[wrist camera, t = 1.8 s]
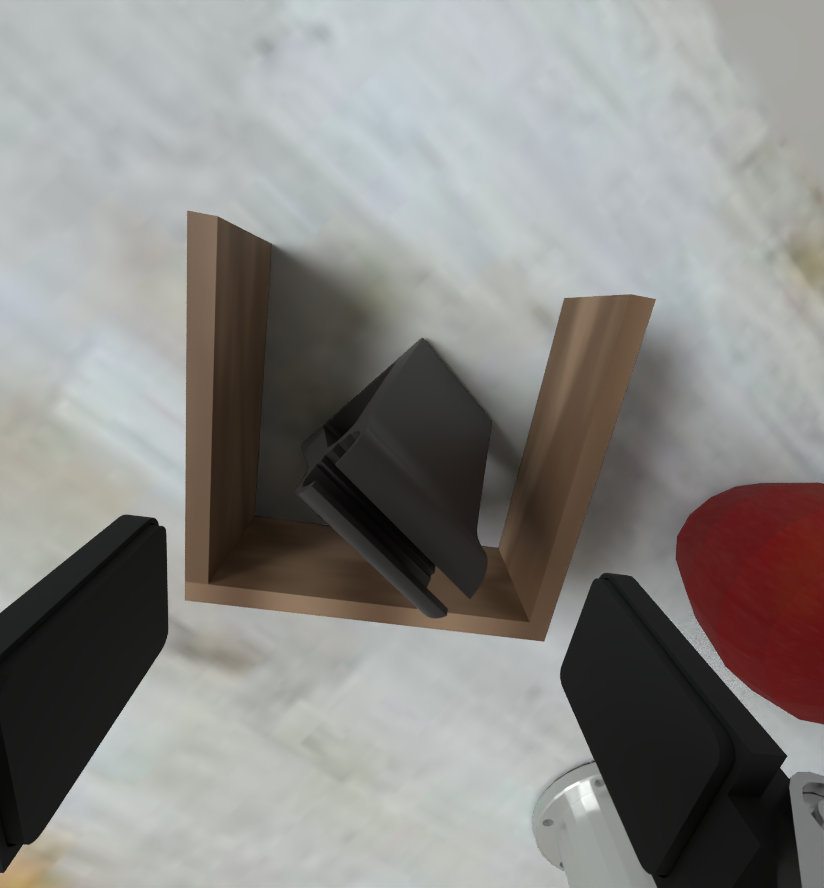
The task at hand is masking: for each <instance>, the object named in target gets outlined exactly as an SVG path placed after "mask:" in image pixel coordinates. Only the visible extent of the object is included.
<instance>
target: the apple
mask: <svg viewBox="0 0 824 888" xmlns="http://www.w3.org/2000/svg"><path fill="white" fill-rule="evenodd" d="M676 561H677V564H678V567H679V570H680V573H681V577H682V580H683V583H684V586H685V589H686V592H687V595H688V598H689V600H690V603H691V606H692V609H693V611H694V614H695V617H696V619H697V621H698V622H699V624H700V626H701V627H702V629H703V630H704V632H705V634H706V635H707V637H708V639H709V640H710V642H711V643H712V645H713V647H714V648H715V650H716V651H717V653H718V655H719V656H720V658H721V660H722V661H723V663H724V664H725V666H726V667H727V668H728V669H729V670H730V671H731V672H732V673H733V674H734V675H736V676H737V677H738V678H739V679H740V680H741V681H742V682H743V683H744V684H745V685H747V686H748V687H749V688H750V689H751V690H752V691H754V692H756V693H757V694H759V695H761V696H762V697H764V698H765V699H767V700H769V701H770V702H772V703H773V704H775V705H777V706H778V707H780V708H782V709H783V710H785V711H786V712H788V713H790V714H791V715H793V716H794V717H796V718H798V719H800V720H805V721H810V722H815V723H820V724H824V484H822V483H759V484H752V485H745V486H737V487H734V488H732V489H729V490H727V491H725V492H722V493H720V494H718V495H716V496H713V497H711V498H710V499H708V500H707V501H706V502H705V503H704V504H702V505H701V506H700V507H699V508H698V509H696V510H695V511H694V512H693V513H692V514H690V516H689V517H688V519H687V521H686V522H685V524H684V526H683V527H682V529H681V531H680V533H679V534H678V536H677V547H676Z"/></svg>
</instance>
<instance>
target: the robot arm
mask: <svg viewBox="0 0 824 888" xmlns="http://www.w3.org/2000/svg"><path fill="white" fill-rule="evenodd" d="M167 635H168V591H167V543H166V529H165V527H163V526H159V524H158V521H157V520H156V519H155V518H150V517H142V516H134V515H122V516H121V517H119V518H118V519H116V520H115V521H114V522H113V523H111V524H110V525H109V526H108V527H106V528H105V529H104V530H103V531H102V532H100V533H99V534H98V535H97V536H95V537H94V538H93V539H92V540H90V541H89V542H88V543H87V544H85V545H84V546H83V547H82V548H80V549H79V550H78V551H77V552H75V553H74V554H73V555H72V556H70V557H69V558H68V559H67V560H66V561H64V562H63V563H62V564H61V565H59V566H58V567H57V568H56V569H54V570H53V571H52V572H51V573H49V574H48V575H47V576H46V577H44V578H43V579H42V580H41V581H39V582H38V583H37V584H36V585H34V586H33V587H32V588H31V589H29V590H28V591H27V592H26V593H25V594H23V595H22V596H21V597H20V598H18V599H17V600H16V601H15V602H13V603H12V604H11V605H10V606H8V607H7V608H6V609H5V610H3V611H2V612H1V613H0V873H4V872H5V870H6V869H7V867H8V866H9V865H10V863H11V862H12V860H13V859H14V857H15V856H16V854H17V853H18V851H19V850H20V848H21V847H22V845H23V844H27V845H29V844H31V843H33V842H34V841H35V840H36V839H37V838H38V837H39V836H40V834H41V833H42V832H43V830H44V829H45V827H46V826H47V824H48V823H49V821H50V820H51V818H52V817H53V815H54V814H55V812H56V811H57V809H58V807H59V806H60V804H61V803H62V801H63V800H64V798H65V797H66V795H67V794H68V792H69V791H70V789H71V788H72V786H73V785H74V783H75V782H76V780H77V778H78V777H79V775H80V774H81V772H82V771H83V769H84V768H85V766H86V765H87V763H88V762H89V760H90V759H91V757H92V756H93V754H94V752H95V751H96V749H97V748H98V746H99V745H100V743H101V742H102V740H103V739H104V737H105V736H106V734H107V733H108V731H109V730H110V728H111V726H112V725H113V723H114V722H115V720H116V719H117V717H118V716H119V714H120V713H121V711H122V710H123V708H124V707H125V705H126V704H127V702H128V701H129V699H130V697H131V696H132V694H133V693H134V691H135V690H136V688H137V687H138V685H139V684H140V682H141V681H142V679H143V678H144V676H145V675H146V673H147V671H148V670H149V668H150V667H151V665H152V664H153V662H154V661H155V659H156V658H157V656H158V655H159V653H160V652H161V650H162V648H163V646H164V644H165V642H166V639H167ZM560 679H561V684H562V687H563V689H564V692H565V694H566V696H567V698H568V701H569V703H570V705H571V708H572V710H573V712H574V714H575V717H576V719H577V721H578V724H579V726H580V728H581V730H582V733H583V735H584V737H585V740H586V742H587V744H588V746H589V749H590V751H591V753H592V756H593V758H594V760H595V762H593V763H590V764H587V765H584V766H581V767H579V768H577V769H575V770H573V771H571V772H569V773H567V774H565V775H564V776H563V777H561V778H560V779H558V780H557V781H555V782H554V783H553V784H552V785H551V786H550V787H549V788H548V789H547V790H546V791H545V792H544V794H543V795H542V796H541V798H540V799H539V801H538V803H537V805H536V807H535V810H534V813H533V819H532V825H533V832H534V836H535V839H536V843H537V846H538V849H539V850H540V852H541V854H542V855H543V857H545V858H546V859H547V860H548V861H549V862H550V863H551V864H552V865H554V866H556V867H557V868H559V869H561V870H563V871H565V873H566V876H567V880H568V883H569V887H570V888H824V776H822V775H818V774H815V773H811V772H797V773H796V774H794V775H793V776H792V777H791V778H790V779H789V778H788V777H787V776H786V775H785V773H784V772H783V771H782V770H781V769H780V767H781V765H782V764H783V762H784V761H785V759H786V757H787V755H786V754H785V753H784V752H783V751H782V749H781V748H780V747H779V746H778V745H777V744H776V742H775V741H774V740H773V739H772V738H771V737H770V735H769V734H768V733H767V732H766V731H765V730H764V728H763V727H762V726H761V725H760V724H759V723H758V721H757V720H756V719H755V718H754V717H753V716H752V715H751V713H750V712H749V711H748V710H747V709H746V708H745V706H744V705H743V704H742V703H741V702H740V701H739V699H738V698H737V697H736V696H735V695H734V694H733V692H732V691H731V690H730V689H729V688H728V687H727V686H726V684H725V683H724V682H723V681H722V680H721V679H720V677H719V676H718V675H717V674H716V673H715V672H714V670H713V669H712V668H711V667H710V666H709V665H708V663H707V662H706V661H705V660H704V659H703V658H702V657H701V655H700V654H699V653H698V652H697V651H696V650H695V648H694V647H693V646H692V645H691V644H690V643H689V641H688V640H687V639H686V638H685V637H684V636H683V634H682V633H681V632H680V631H679V630H678V629H677V628H676V626H675V625H674V624H673V623H672V622H671V621H670V619H669V618H668V617H667V616H666V615H665V614H664V612H663V611H662V610H661V609H660V608H659V607H658V605H657V604H656V603H655V602H654V601H653V600H652V598H651V597H650V596H649V595H648V594H647V593H646V592H645V590H644V589H643V588H642V587H641V586H640V585H639V583H638V582H637V581H636V580H635V579H634V578H633V577H631V576H627V575H619V574H611V573H604V574H602V575H601V576H600V578H599V579H595V580H594V581H593V583H592V585H591V587H590V590H589V593H588V596H587V598H586V601H585V604H584V606H583V609H582V612H581V615H580V617H579V620H578V623H577V626H576V628H575V631H574V634H573V636H572V639H571V642H570V645H569V647H568V650H567V653H566V656H565V658H564V661H563V664H562V666H561V671H560Z"/></svg>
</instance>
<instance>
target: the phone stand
mask: <svg viewBox="0 0 824 888" xmlns="http://www.w3.org/2000/svg"><path fill="white" fill-rule="evenodd" d="M491 425H492V420H491V419H490V418H489V417H488V415H487V414H486V413H485V412H484V411H483V409H482V408H481V407H480V406H479V405H478V403H477V402H476V401H475V400H474V399H473V397H472V396H471V395H470V394H469V393H468V391H467V390H466V389H465V388H464V387H463V385H462V384H461V383H460V382H459V381H458V379H457V378H456V377H455V376H454V375H453V373H452V372H451V371H450V370H449V369H448V367H447V366H446V365H445V364H444V363H443V361H442V360H441V359H440V358H439V357H438V355H437V354H436V353H435V352H434V351H433V349H432V348H431V347H430V346H429V345H428V343H427V342H426V341H425V340H424V339H423V338H421V339H420V340H419V341H418V342H416V343H415V344H414V345H413V346H412V347H411V348H410V349H408V350H407V351H406V352H405V353H404V354H403V355H402V356H401V357H399V358H398V359H397V360H396V361H395V362H394V363H393V364H392V365H390V366H389V367H388V368H387V369H386V370H385V371H384V372H383V373H381V374H380V375H379V376H378V377H377V378H376V379H375V380H374V381H372V382H371V383H370V384H369V385H368V386H367V387H366V388H365V389H363V390H362V392H361V393H359V394H358V395H357V396H356V397H354V398H353V399H352V400H351V401H350V402H349V403H348V404H347V405H345V406H344V407H343V408H342V409H341V410H340V411H339V412H338V413H336V414H335V415H334V416H333V417H332V418H331V419H330V420H329V421H327V422H326V423H325V424H324V425H323V426H322V427H321V428H320V429H318V430H317V431H316V432H315V433H314V434H313V435H312V436H311V437H309V438H308V439H307V440H306V441H305V442H304V443H303V444H302V445H301V446H300V447H301V449H302V452H303V454H304V456H305V459H306V461H307V464H308V466H309V468H308V471H307V473H306V475H305V476H304V478H303V479H302V481H301V482H300V484H299V485H298V487H297V489H296V492H295V493H296V494H297V495H298V496H299V497H300V498H301V499H302V500H303V501H304V502H305V503H306V504H307V505H308V506H309V507H311V508H312V509H313V510H314V511H315V512H316V513H317V514H318V515H319V516H320V517H321V518H322V519H323V520H324V521H325V522H326V523H328V524H329V525H330V526H331V527H332V528H333V529H334V530H335V531H336V532H337V533H338V534H339V535H340V536H341V537H342V538H343V539H345V540H346V541H347V542H348V543H349V544H350V545H351V546H352V547H353V548H354V549H355V550H356V551H357V552H358V553H359V554H360V555H361V556H363V557H364V558H365V559H366V560H367V561H368V562H369V563H370V564H371V565H372V566H373V567H374V568H375V569H376V570H377V571H378V572H380V573H381V574H382V575H383V576H384V577H385V578H386V579H387V580H388V581H389V582H390V583H391V584H392V585H393V586H394V587H395V588H396V589H398V590H399V591H400V592H401V593H402V594H403V595H404V596H405V597H406V598H407V599H408V600H409V601H410V602H411V603H412V604H413V605H415V606H416V607H417V608H418V609H419V610H420V611H421V612H422V613H423V614H424V615H425V616H427V617H429V618H434V619H436V618H442V617H445V616H447V612H448V608H447V607H446V606H445V605H444V604H443V603H442V602H441V601H440V600H439V599H438V598H437V597H436V596H435V595H434V594H432V593H431V592H430V591H429V590H428V589H427V587H428V584H429V582H430V580H431V575H432V574H434V573H435V567H436V566H437V567H438V568H439V569H440V570H441V571H442V572H443V573H444V574H445V575H446V576H447V577H448V578H449V579H450V580H451V581H452V582H453V583H454V584H455V585H456V586H457V587H458V588H459V589H460V590H461V591H462V592H463V593H464V594H465V595H466V596H467V597H468V598H469V599H471V597H472V596H473V595H474V594H475V592H476V591H477V590H478V588H479V586H480V585H481V583H482V581H483V579H484V576H485V574H486V570H487V565H488V558H487V554H486V552H485V550H484V549H483V548H482V546H481V545H480V542H479V540H478V536H477V523H478V516H479V509H480V502H481V495H482V488H483V481H484V474H485V467H486V460H487V453H488V446H489V439H490V432H491Z"/></svg>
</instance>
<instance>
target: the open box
mask: <svg viewBox="0 0 824 888" xmlns="http://www.w3.org/2000/svg"><path fill="white" fill-rule="evenodd" d="M271 245H272V244H271V243H269V242H267V241H265V240H263V239H261V238H259V237H257V236H255V235H253V234H251V233H249V232H247V231H245V230H243V229H241V228H239V227H237V226H236V225H234V224H232V223H230V222H228V221H226V220H224V219H222V218H220V217H218V216H213V215H208V214H202V213H197V212H192V211H187V356H186V511H185V600H187V601H196V602H204V603H213V604H222V605H231V606H239V607H248V608H257V609H266V610H274V611H283V612H292V613H300V614H309V615H318V616H327V617H335V618H344V619H353V620H362V621H370V622H379V623H388V624H396V625H405V626H414V627H423V628H431V629H440V630H449V631H458V632H466V633H475V634H484V635H492V636H501V637H510V638H519V639H527V640H536V641H544V640H545V637H546V634H547V631H548V628H549V625H550V622H551V619H552V616H553V613H554V610H555V607H556V604H557V601H558V597H559V594H560V591H561V588H562V585H563V582H564V579H565V576H566V573H567V570H568V567H569V564H570V561H571V558H572V555H573V552H574V548H575V545H576V542H577V539H578V536H579V533H580V530H581V527H582V524H583V521H584V518H585V515H586V512H587V509H588V506H589V503H590V499H591V496H592V493H593V490H594V487H595V484H596V481H597V478H598V475H599V472H600V469H601V466H602V463H603V460H604V457H605V453H606V450H607V447H608V444H609V441H610V438H611V435H612V432H613V429H614V426H615V423H616V420H617V417H618V414H619V411H620V408H621V404H622V401H623V398H624V395H625V392H626V389H627V386H628V383H629V380H630V377H631V374H632V371H633V368H634V365H635V362H636V359H637V355H638V352H639V349H640V346H641V343H642V340H643V337H644V334H645V331H646V328H647V325H648V322H649V319H650V316H651V313H652V309H653V306H654V303H655V300H656V299H652V298H647V297H642V296H636V295H631V294H629V295H612V296H594V297H577V298H564V302H563V306H562V310H561V313H560V317H559V321H558V325H557V328H556V332H555V336H554V340H553V344H552V347H551V351H550V355H549V359H548V363H547V366H546V370H545V374H544V378H543V382H542V385H541V389H540V393H539V397H538V400H537V404H536V408H535V412H534V416H533V419H532V423H531V427H530V431H529V435H528V438H527V442H526V446H525V450H524V454H523V457H522V461H521V465H520V469H519V473H518V476H517V480H516V484H515V488H514V491H513V495H512V499H511V503H510V507H509V510H508V514H507V518H506V522H505V526H504V529H503V533H502V537H501V541H500V545H499V548H491V547H484V546H482V548H483V549H484V550H485V552H486V554H487V558H488V565H487V570H486V574H485V576H484V579H483V581H482V583H481V585H480V586H479V588H478V590H477V591H476V592H475V594H474V595H473V596H472V597H471V599H469V598H468V597H467V596H466V595H465V594H464V593H463V592H462V591H461V590H460V589H459V588H458V587H457V586H456V585H455V584H454V583H453V582H452V581H451V580H450V579H449V578H448V577H447V576H446V575H445V574H444V573H443V572H442V571H441V570H440V569H439V568H438V567H437V566H436V567H435V573H434V574H432V575H431V580H430V582H429V584H428V587H427V589H428V590H429V591H430V592H431V593H432V594H434V595H435V596H436V597H437V598H438V599H439V600H440V601H441V602H442V603H443V604H444V605H445V606H446V607H447V608H448V612H447V616H445V617H442V618H436V619H434V618H429V617H427V616H425V615H424V614H423V613H422V612H421V611H420V610H419V609H418V608H417V607H416V606H415V605H413V604H412V603H411V602H410V601H409V600H408V599H407V598H406V597H405V596H404V595H403V594H402V593H401V592H400V591H399V590H398V589H396V588H395V587H394V586H393V585H392V584H391V583H390V582H389V581H388V580H387V579H386V578H385V577H384V576H383V575H382V574H381V573H380V572H378V571H377V570H376V569H375V568H374V567H373V566H372V565H371V564H370V563H369V562H368V561H367V560H366V559H365V558H364V557H363V556H361V555H360V554H359V553H358V552H357V551H356V550H355V549H354V548H353V547H352V546H351V545H350V544H349V543H348V542H347V541H346V540H345V539H343V538H342V537H341V536H340V535H339V534H338V533H337V532H336V531H335V530H334V529H333V528H332V527H331V526H325V525H318V524H310V523H303V522H295V521H288V520H280V519H272V518H265V517H257V516H255V504H256V488H257V472H258V455H259V439H260V423H261V407H262V391H263V375H264V358H265V342H266V326H267V310H268V294H269V278H270V261H271Z"/></svg>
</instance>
